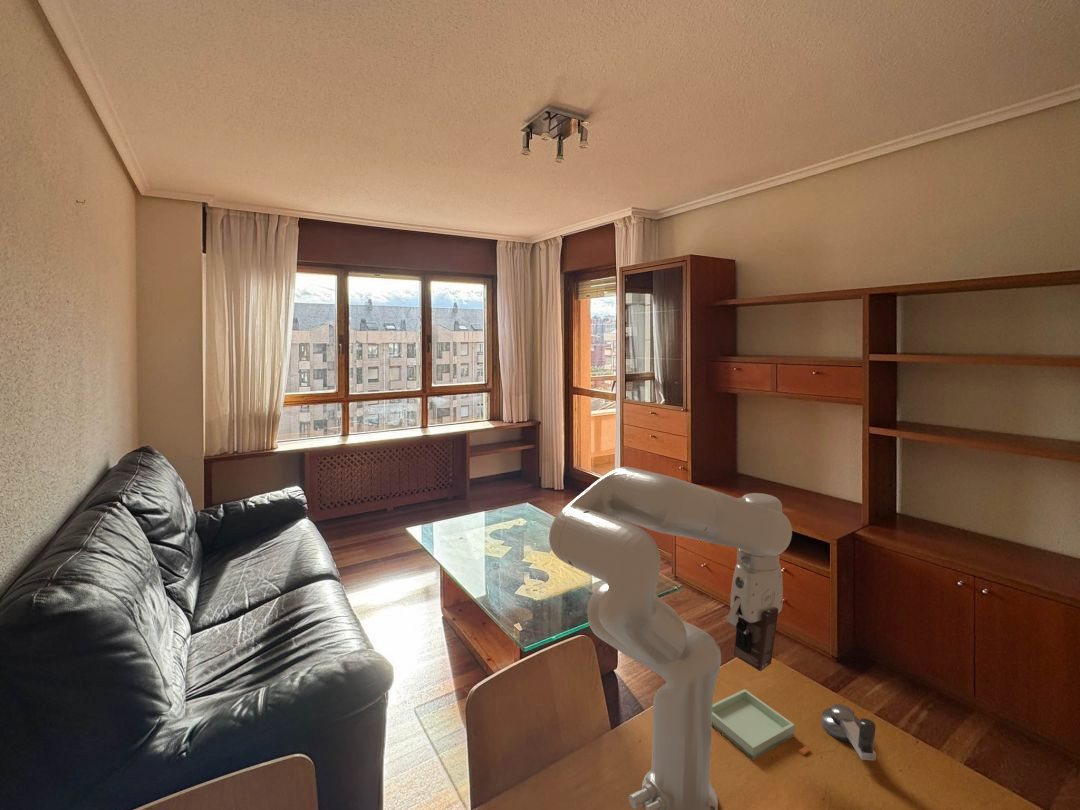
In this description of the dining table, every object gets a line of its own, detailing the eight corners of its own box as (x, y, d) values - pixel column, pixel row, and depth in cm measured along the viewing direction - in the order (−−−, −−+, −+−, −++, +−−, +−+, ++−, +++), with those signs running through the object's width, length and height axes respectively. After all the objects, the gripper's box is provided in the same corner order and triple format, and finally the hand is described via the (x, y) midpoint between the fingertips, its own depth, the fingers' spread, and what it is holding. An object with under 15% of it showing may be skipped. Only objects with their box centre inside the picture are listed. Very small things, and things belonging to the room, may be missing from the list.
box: (772, 663, 102) (779, 608, 100) (759, 672, 100) (767, 616, 97) (744, 646, 107) (751, 594, 105) (731, 655, 104) (738, 601, 102)
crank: (827, 711, 107) (829, 682, 106) (848, 712, 106) (850, 684, 105) (856, 759, 95) (859, 727, 94) (880, 761, 94) (883, 728, 93)
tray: (752, 760, 97) (753, 747, 97) (704, 719, 108) (704, 708, 107) (793, 736, 103) (794, 724, 103) (744, 699, 113) (744, 688, 113)
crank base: (818, 766, 96) (819, 757, 95) (785, 741, 102) (785, 731, 101) (869, 734, 103) (870, 725, 103) (835, 712, 109) (835, 703, 109)
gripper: (743, 575, 93) (738, 669, 96) (803, 556, 101) (797, 643, 104) (711, 559, 100) (707, 648, 102) (770, 543, 108) (765, 625, 110)
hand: (752, 645), depth 103 cm, fingers closed on box, 4 cm apart
